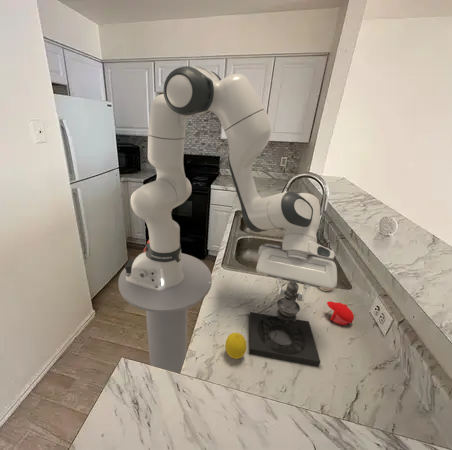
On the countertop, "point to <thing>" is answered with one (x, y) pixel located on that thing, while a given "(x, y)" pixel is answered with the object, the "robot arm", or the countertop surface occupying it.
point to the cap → (341, 313)
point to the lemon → (235, 345)
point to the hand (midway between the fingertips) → (290, 298)
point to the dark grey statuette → (288, 303)
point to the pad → (266, 346)
